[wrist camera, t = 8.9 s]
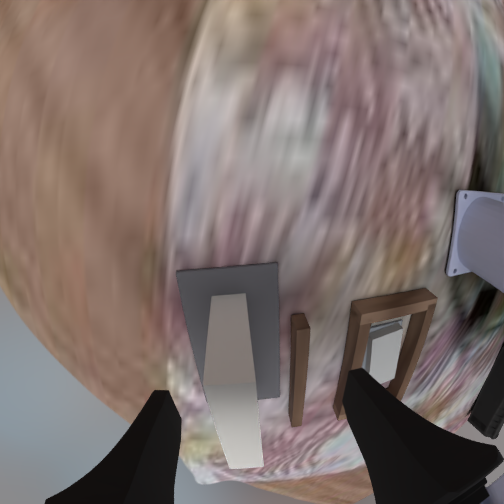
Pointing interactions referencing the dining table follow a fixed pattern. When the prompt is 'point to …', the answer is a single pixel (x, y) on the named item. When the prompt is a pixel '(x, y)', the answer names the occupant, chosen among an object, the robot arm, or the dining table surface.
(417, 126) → the dining table surface
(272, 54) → the dining table surface
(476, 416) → the magazine
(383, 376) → the offcut upper
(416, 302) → the brown wooden frame
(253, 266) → the mat
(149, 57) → the dining table surface
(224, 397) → the white rectangular block
